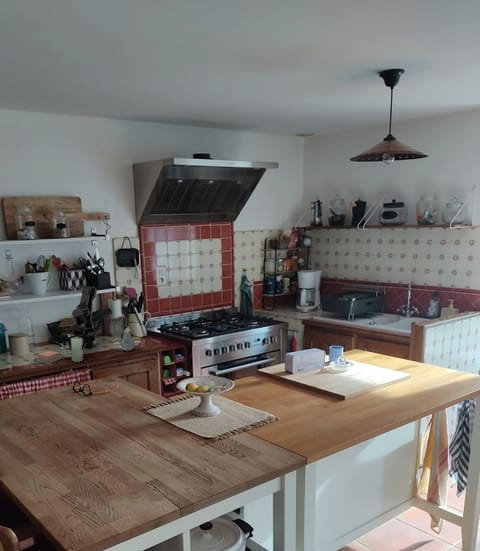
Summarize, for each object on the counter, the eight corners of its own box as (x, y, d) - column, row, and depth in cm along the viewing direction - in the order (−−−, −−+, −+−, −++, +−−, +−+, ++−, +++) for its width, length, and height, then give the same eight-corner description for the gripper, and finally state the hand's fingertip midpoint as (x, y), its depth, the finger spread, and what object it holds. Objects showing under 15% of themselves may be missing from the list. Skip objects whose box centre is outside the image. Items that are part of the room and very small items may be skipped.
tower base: (49, 356, 292) (49, 349, 291) (64, 358, 286) (64, 352, 286) (33, 361, 281) (32, 354, 281) (48, 364, 276) (47, 357, 275)
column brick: (75, 358, 285) (74, 335, 284) (85, 359, 284) (84, 335, 282) (69, 361, 280) (68, 338, 278) (79, 362, 278) (78, 338, 276)
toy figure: (113, 354, 295) (112, 329, 293) (113, 349, 305) (112, 325, 303) (142, 352, 299) (141, 328, 297) (140, 347, 309) (140, 324, 307)
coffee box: (120, 340, 327) (119, 316, 324) (128, 340, 325) (127, 316, 322) (112, 343, 318) (111, 319, 316) (121, 344, 316) (120, 319, 314)
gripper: (60, 319, 282) (56, 343, 272) (93, 318, 283) (90, 342, 274) (64, 329, 290) (60, 353, 281) (97, 328, 292) (94, 352, 283)
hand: (76, 349), depth 280 cm, fingers closed on column brick, 6 cm apart
